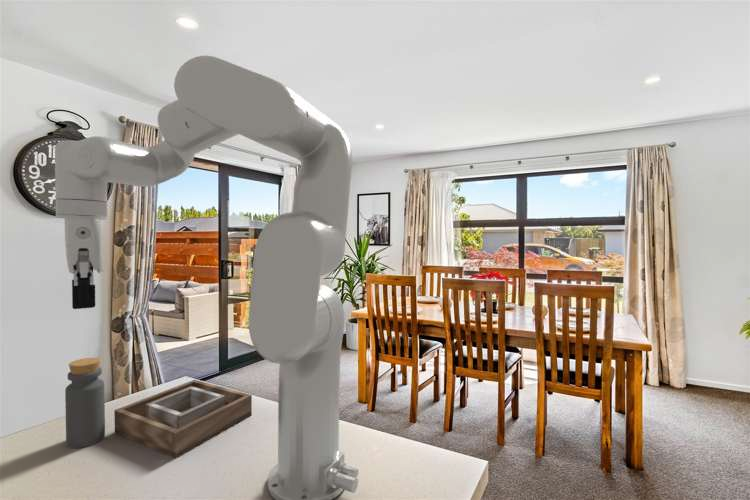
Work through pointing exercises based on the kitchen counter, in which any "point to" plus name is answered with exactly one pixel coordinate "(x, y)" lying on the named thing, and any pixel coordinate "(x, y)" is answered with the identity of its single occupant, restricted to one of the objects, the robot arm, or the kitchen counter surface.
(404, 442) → the kitchen counter surface
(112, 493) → the kitchen counter surface
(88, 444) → the bottle
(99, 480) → the kitchen counter surface
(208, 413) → the walled box
